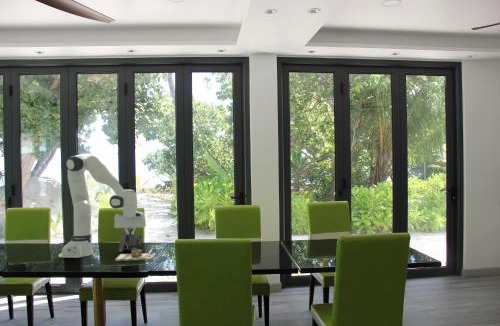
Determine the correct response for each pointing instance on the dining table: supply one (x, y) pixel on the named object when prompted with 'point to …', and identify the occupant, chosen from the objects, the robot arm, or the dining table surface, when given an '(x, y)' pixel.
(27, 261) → the dining table surface
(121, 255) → the board
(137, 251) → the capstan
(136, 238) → the camera
